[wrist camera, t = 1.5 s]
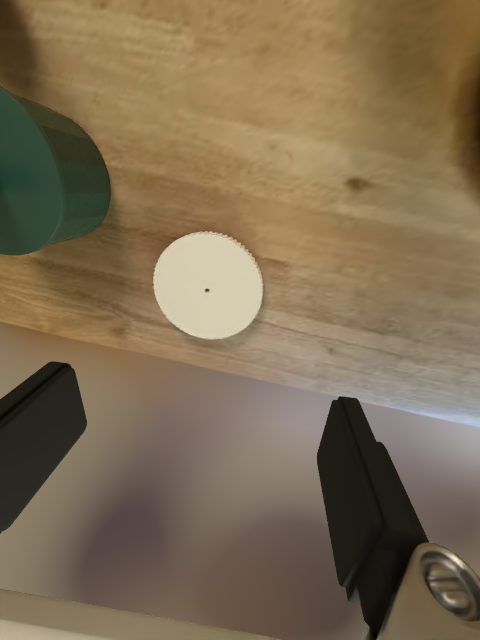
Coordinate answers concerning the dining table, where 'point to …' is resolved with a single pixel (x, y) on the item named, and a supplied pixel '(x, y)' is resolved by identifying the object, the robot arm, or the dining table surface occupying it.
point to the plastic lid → (208, 285)
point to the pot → (75, 172)
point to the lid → (27, 181)
